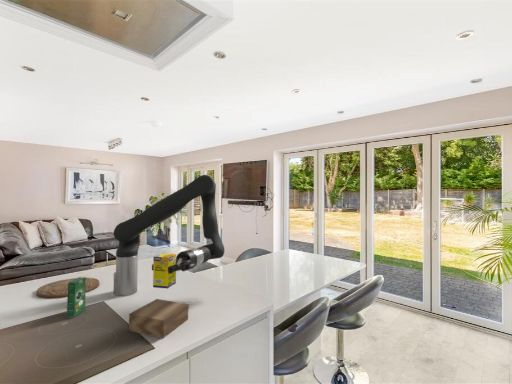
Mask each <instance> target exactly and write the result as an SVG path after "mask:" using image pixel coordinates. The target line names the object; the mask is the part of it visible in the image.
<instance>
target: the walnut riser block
mask: <svg viewBox="0 0 512 384" xmlns="http://www.w3.org/2000/svg"><path fill="white" fill-rule="evenodd" d="M187 321H189V303H184V302H177V301H171V300H165V299H158V298H156V299H154V300H153V301H151V302H148V303H146V304H145V305H143V306H141V307H139V308H137V309H135V310H134V311H131V312H130V313H128V332H132V333H137V334H143V335H147V336H151V337H156V338H159V339H160V338H161V339H165V338H166V337H167V336H168V335H169V334H171V333H172V332H173V331H175V330H176V329H178V328H179V327H180V326H182V325H183V324H184V323H186V322H187Z"/></svg>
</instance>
